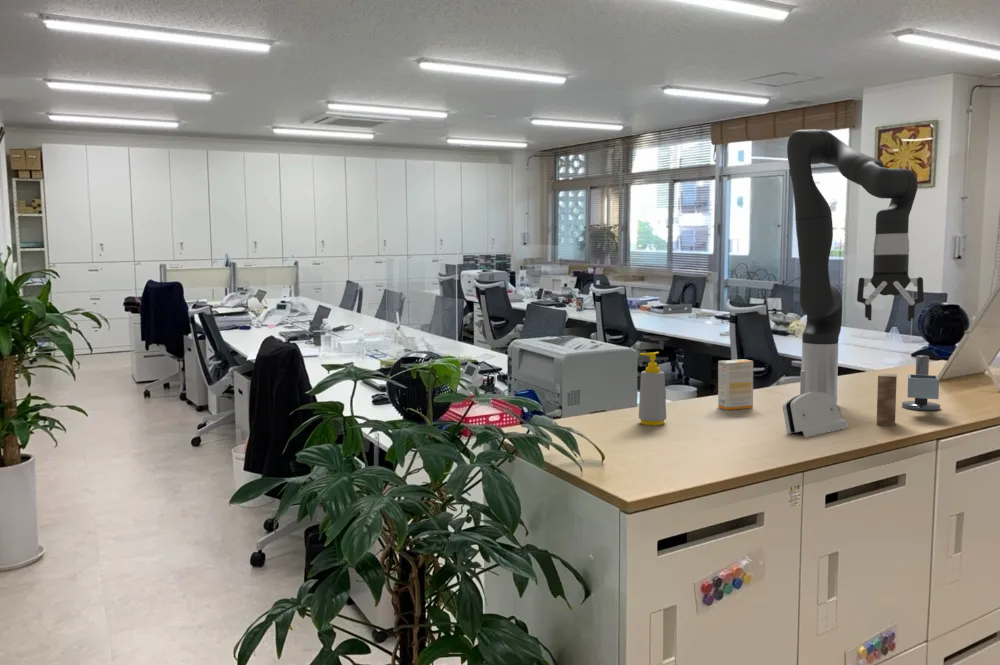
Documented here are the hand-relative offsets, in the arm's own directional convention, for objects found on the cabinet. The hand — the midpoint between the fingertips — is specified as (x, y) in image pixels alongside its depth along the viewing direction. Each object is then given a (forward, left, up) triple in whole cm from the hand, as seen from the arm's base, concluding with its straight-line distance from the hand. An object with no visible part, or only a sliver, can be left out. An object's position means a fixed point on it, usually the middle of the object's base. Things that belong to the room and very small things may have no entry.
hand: (889, 320), depth 184 cm
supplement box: (-37, +6, -26) cm, 45 cm away
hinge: (-15, -14, -26) cm, 33 cm away
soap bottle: (-52, -22, -26) cm, 62 cm away
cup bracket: (+8, +20, -25) cm, 33 cm away
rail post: (0, 0, -25) cm, 25 cm away
